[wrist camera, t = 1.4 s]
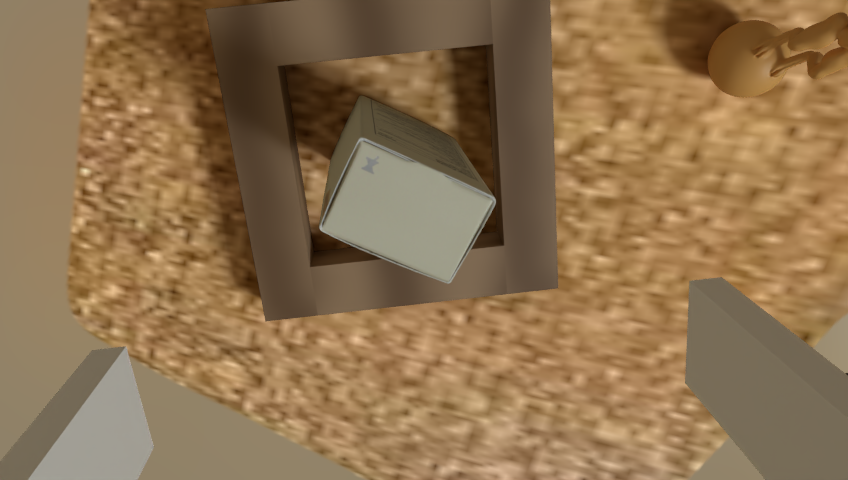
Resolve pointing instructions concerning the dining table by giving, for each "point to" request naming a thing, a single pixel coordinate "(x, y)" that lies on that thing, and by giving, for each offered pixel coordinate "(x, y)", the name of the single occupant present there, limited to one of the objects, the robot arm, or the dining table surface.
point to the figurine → (774, 54)
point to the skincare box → (404, 192)
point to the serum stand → (279, 160)
